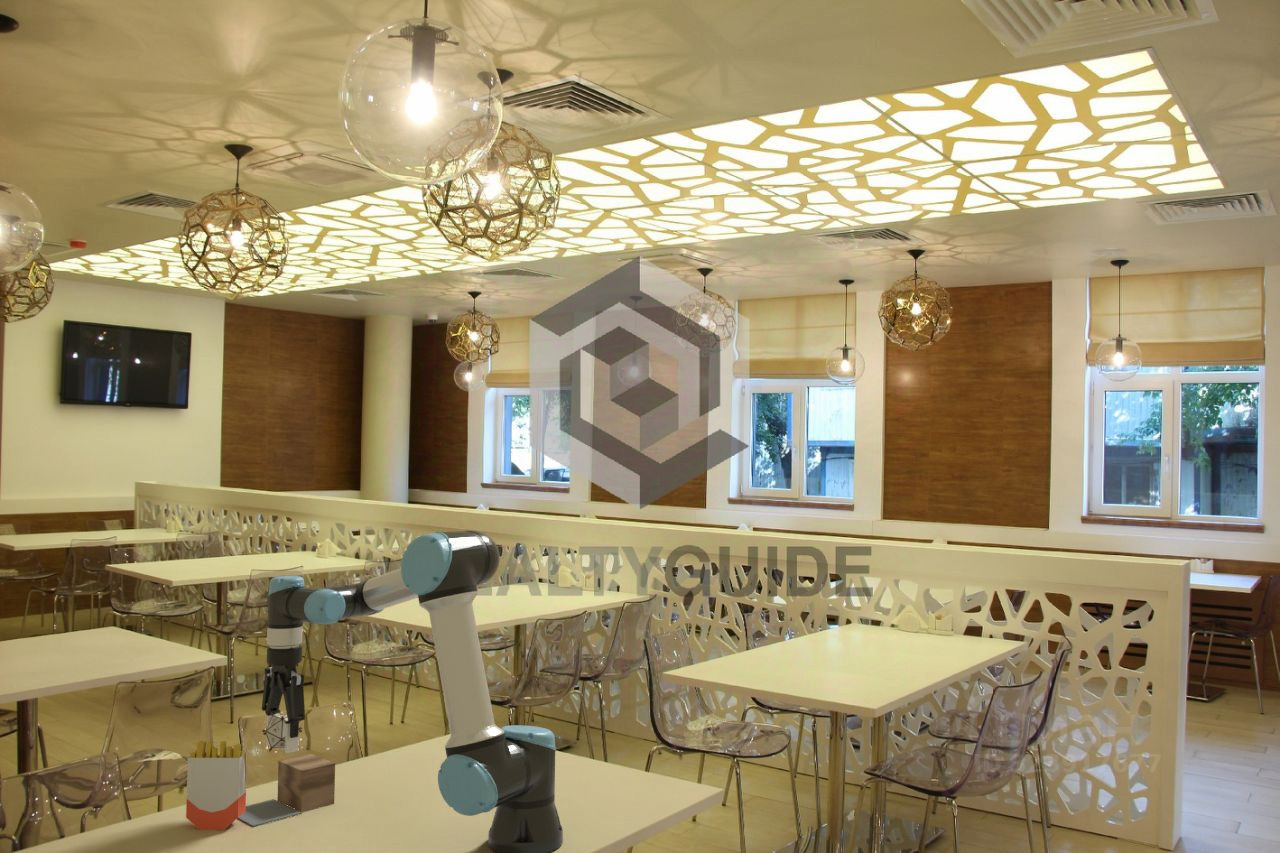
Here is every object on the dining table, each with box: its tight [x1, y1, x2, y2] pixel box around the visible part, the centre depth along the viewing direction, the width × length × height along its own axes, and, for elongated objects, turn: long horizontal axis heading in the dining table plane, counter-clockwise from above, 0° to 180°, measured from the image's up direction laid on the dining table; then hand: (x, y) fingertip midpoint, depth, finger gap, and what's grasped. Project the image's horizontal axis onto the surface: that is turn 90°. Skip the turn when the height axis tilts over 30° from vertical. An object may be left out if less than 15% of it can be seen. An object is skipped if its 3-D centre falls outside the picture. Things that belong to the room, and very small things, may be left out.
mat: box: [237, 798, 303, 828], centre depth 214 cm, size 13×11×1 cm
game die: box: [261, 713, 303, 753], centre depth 218 cm, size 9×8×10 cm
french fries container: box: [185, 740, 247, 830], centre depth 207 cm, size 5×11×18 cm, turn 91°
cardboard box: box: [277, 753, 336, 813], centre depth 222 cm, size 11×8×9 cm
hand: (282, 747), depth 218 cm, fingers closed on game die, 8 cm apart
